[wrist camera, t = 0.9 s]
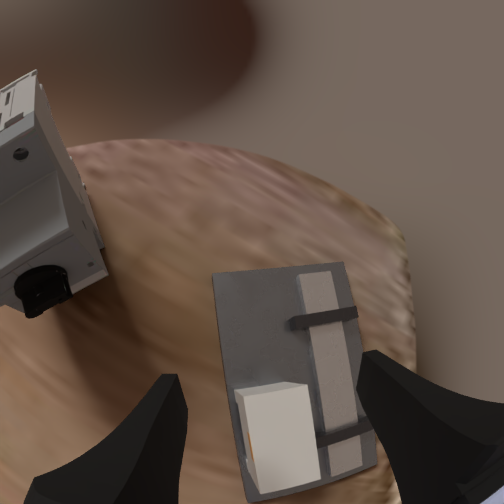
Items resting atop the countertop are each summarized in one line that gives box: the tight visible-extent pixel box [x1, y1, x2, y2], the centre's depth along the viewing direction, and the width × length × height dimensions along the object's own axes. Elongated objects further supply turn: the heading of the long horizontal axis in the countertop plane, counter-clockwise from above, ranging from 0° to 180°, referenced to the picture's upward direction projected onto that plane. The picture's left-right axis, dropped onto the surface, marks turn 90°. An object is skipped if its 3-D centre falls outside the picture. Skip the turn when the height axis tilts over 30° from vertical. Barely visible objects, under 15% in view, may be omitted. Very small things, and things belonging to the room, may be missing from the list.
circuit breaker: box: [0, 69, 109, 319], centre depth 16 cm, size 8×14×15 cm, turn 32°
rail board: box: [212, 262, 377, 503], centre depth 21 cm, size 20×12×2 cm, turn 9°
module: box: [234, 382, 321, 494], centre depth 17 cm, size 4×7×5 cm, turn 9°
